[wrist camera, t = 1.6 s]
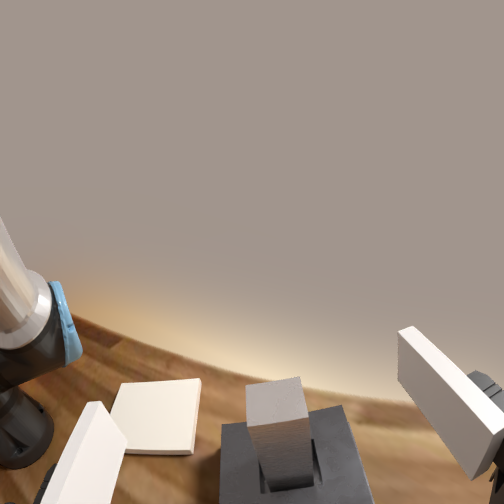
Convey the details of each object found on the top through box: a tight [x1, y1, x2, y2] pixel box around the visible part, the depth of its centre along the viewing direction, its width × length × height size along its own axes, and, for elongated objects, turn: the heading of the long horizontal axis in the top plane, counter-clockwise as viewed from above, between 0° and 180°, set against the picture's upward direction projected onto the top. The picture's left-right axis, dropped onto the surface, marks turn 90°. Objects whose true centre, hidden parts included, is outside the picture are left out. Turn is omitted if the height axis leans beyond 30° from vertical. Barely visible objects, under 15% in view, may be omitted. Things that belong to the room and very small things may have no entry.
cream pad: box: [110, 378, 202, 455], centre depth 40 cm, size 14×14×1 cm
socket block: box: [219, 405, 375, 504], centre depth 24 cm, size 16×20×5 cm
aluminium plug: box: [246, 377, 314, 493], centre depth 24 cm, size 4×4×15 cm
